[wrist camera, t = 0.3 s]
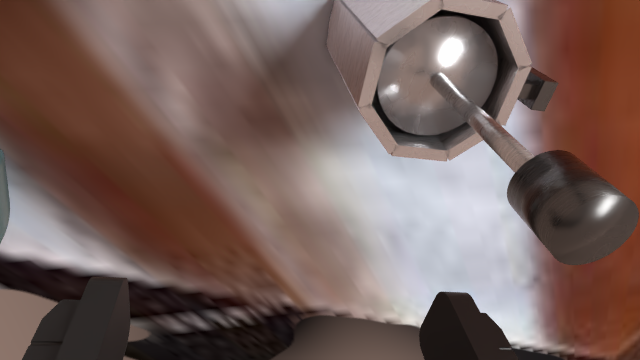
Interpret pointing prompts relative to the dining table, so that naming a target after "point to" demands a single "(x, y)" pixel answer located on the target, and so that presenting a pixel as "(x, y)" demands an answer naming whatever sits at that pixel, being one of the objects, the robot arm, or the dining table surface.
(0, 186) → the flower pot
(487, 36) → the plunger
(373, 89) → the carafe
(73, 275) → the dining table surface
